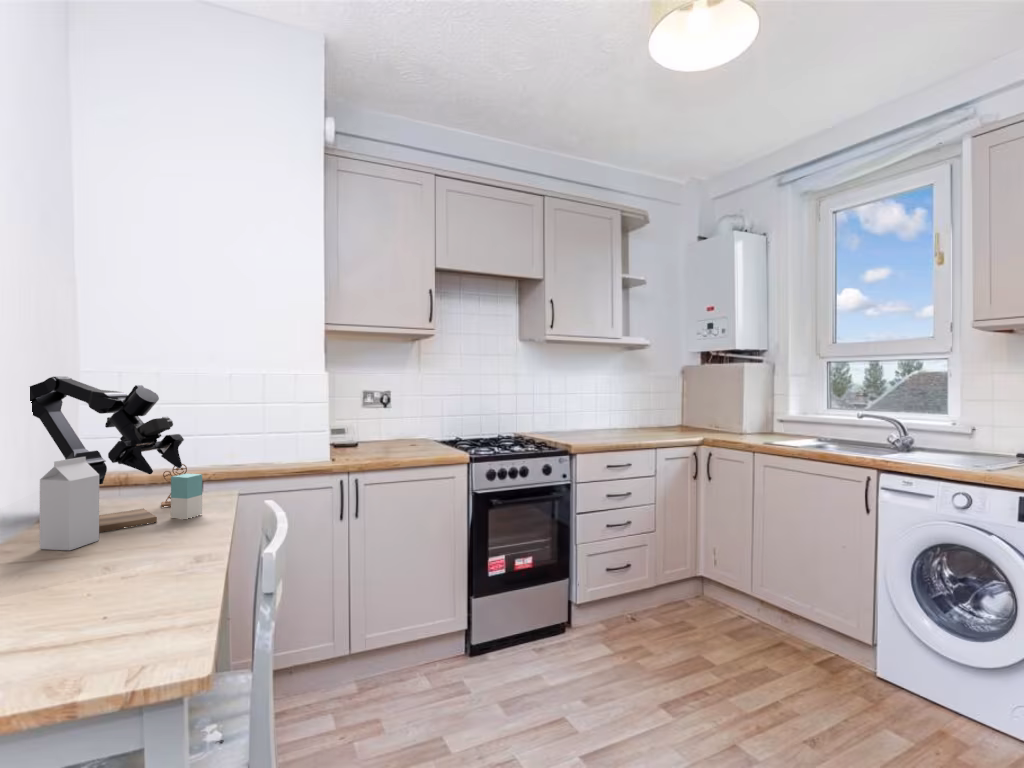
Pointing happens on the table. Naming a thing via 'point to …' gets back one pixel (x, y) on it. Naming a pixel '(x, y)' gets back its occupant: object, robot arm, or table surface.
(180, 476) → the block
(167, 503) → the gingerbread man figurine
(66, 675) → the table surface
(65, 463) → the milk carton
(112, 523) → the board
